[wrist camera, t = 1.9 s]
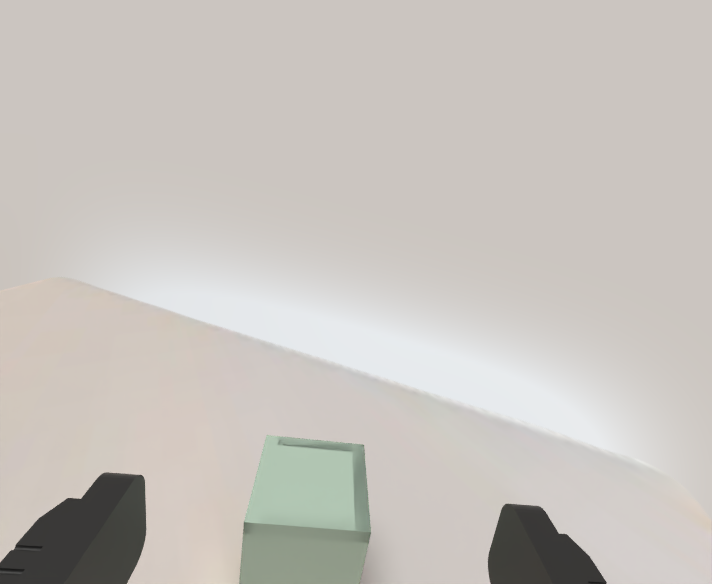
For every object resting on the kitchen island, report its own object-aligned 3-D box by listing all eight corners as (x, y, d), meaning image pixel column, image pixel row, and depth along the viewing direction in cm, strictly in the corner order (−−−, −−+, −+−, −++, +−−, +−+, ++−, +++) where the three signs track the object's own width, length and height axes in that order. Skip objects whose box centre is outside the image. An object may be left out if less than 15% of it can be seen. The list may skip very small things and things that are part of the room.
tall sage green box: (233, 661, 23) (244, 522, 20) (255, 556, 29) (266, 435, 26) (341, 666, 24) (370, 532, 20) (340, 562, 30) (363, 444, 26)
